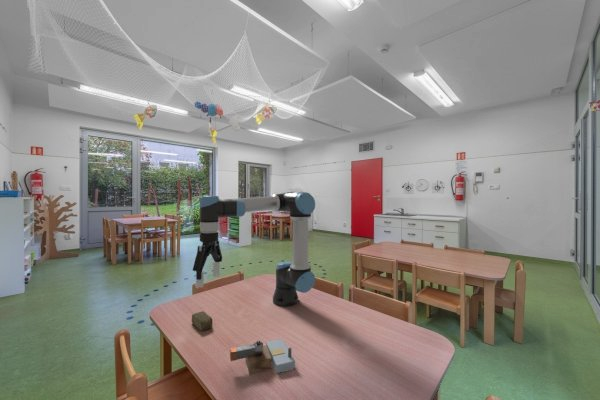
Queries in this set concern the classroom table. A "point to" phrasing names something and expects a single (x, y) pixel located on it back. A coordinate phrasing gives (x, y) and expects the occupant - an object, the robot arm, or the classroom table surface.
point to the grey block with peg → (280, 355)
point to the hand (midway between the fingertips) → (208, 281)
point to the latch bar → (246, 351)
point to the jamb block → (259, 362)
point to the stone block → (202, 321)
